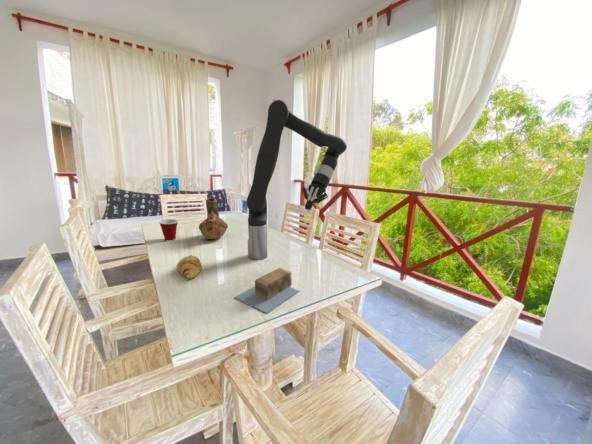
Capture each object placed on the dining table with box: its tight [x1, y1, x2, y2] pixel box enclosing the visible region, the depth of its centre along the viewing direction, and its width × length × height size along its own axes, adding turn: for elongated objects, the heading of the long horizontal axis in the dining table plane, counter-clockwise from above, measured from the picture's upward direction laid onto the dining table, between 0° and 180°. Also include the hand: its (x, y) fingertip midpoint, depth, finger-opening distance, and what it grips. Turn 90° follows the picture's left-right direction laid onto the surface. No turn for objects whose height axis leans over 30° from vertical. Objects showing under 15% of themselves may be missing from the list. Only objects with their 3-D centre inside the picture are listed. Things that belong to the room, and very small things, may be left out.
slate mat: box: [234, 285, 300, 314], centre depth 95 cm, size 18×16×1 cm
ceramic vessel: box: [198, 197, 228, 240], centre depth 157 cm, size 17×26×25 cm, turn 16°
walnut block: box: [254, 267, 292, 300], centre depth 97 cm, size 6×6×14 cm
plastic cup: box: [158, 218, 179, 241], centre depth 157 cm, size 11×11×12 cm
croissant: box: [175, 254, 202, 280], centre depth 114 cm, size 21×10×8 cm, turn 25°
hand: (307, 209), depth 113 cm, fingers closed
